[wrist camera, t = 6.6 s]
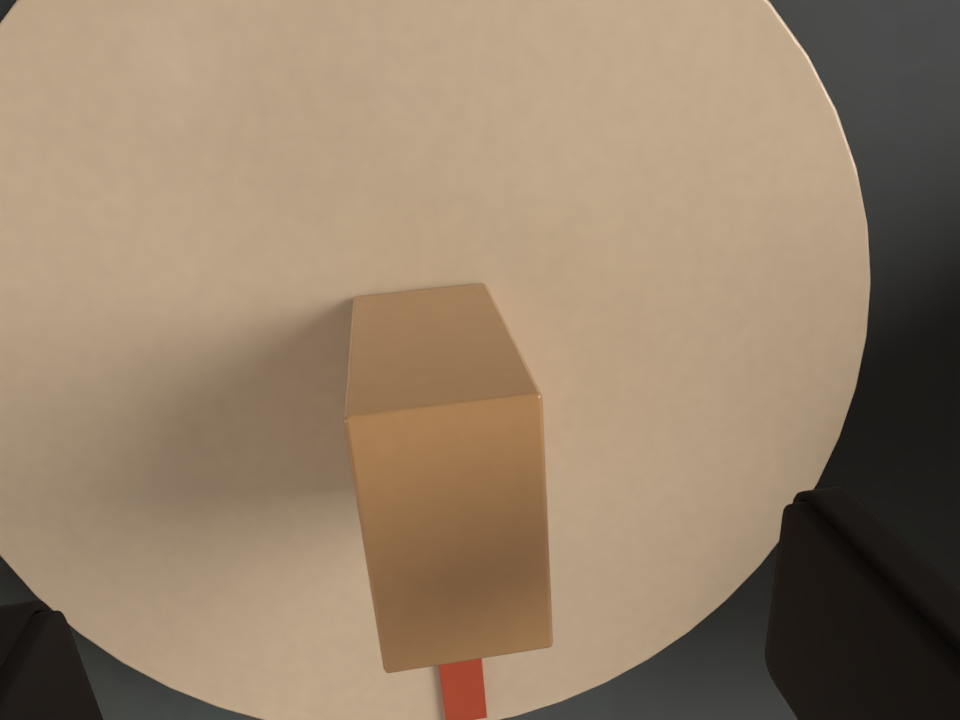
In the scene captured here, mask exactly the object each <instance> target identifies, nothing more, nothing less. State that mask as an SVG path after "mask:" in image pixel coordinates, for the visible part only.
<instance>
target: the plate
mask: <svg viewBox="0 0 960 720" xmlns="http://www.w3.org/2000/svg"><path fill="white" fill-rule="evenodd" d="M870 283H871V280H870V262H869V244H868V225H867V220H866V215H865V210H864V205H863V200H862V194H861V189H860V184H859V179H858V174H857V169H856V166H855V163H854V160H853V157H852V154H851V151H850V148H849V145H848V142H847V139H846V137H845V134H844V131H843V128H842V125H841V122H840V119H839V116H838V113H837V111H836V109H835V107H834V105H833V103H832V101H831V99H830V97H829V95H828V93H827V91H826V89H825V87H824V85H823V84H822V82H821V80H820V78H819V76H818V74H817V72H816V70H815V68H814V66H813V64H812V62H811V60H810V58H809V56H808V55H807V53H806V52H805V50H804V49H803V48H802V46H801V45H800V44H799V42H798V41H797V39H796V38H795V37H794V35H793V34H792V32H791V31H790V30H789V28H788V27H787V25H786V24H785V23H784V21H783V20H782V18H781V17H780V16H779V14H778V13H777V12H776V10H775V9H774V7H773V6H772V5H771V3H770V2H769V1H768V0H17V1H16V2H15V3H14V5H13V6H12V8H11V9H10V10H9V12H8V13H7V14H6V16H5V17H4V18H3V20H2V21H1V22H0V556H1V557H2V558H3V559H4V560H5V561H6V562H7V564H8V565H9V566H10V567H11V568H12V569H13V570H14V571H15V573H16V574H17V575H18V576H19V577H20V578H21V579H22V580H23V582H24V583H25V584H26V585H27V586H28V587H29V588H30V589H31V591H32V592H33V593H34V594H35V595H36V596H37V597H38V598H39V599H41V600H42V601H43V602H44V603H46V604H47V605H48V606H49V607H50V608H51V609H52V610H53V611H55V610H57V611H61V612H62V613H63V614H64V616H65V618H66V620H67V623H68V624H69V625H70V626H71V627H72V628H74V629H75V630H76V631H77V632H78V633H80V634H81V635H83V636H84V637H86V638H87V639H89V640H90V641H91V642H93V643H94V644H96V645H97V646H99V647H100V648H102V649H103V650H105V651H106V652H108V653H109V654H110V655H112V656H113V657H115V658H116V659H118V660H119V661H121V662H122V663H124V664H126V665H128V666H130V667H131V668H133V669H135V670H137V671H139V672H141V673H143V674H145V675H146V676H148V677H150V678H152V679H154V680H156V681H158V682H160V683H162V684H163V685H165V686H167V687H169V688H171V689H174V690H176V691H179V692H181V693H184V694H186V695H189V696H191V697H194V698H196V699H199V700H201V701H204V702H207V703H209V704H212V705H214V706H217V707H219V708H223V709H226V710H230V711H233V712H237V713H241V714H244V715H248V716H251V717H255V718H258V719H262V720H501V719H505V718H510V717H514V716H518V715H521V714H524V713H527V712H530V711H533V710H537V709H540V708H543V707H546V706H549V705H552V704H555V703H558V702H562V701H564V700H566V699H569V698H571V697H573V696H576V695H578V694H580V693H583V692H585V691H587V690H590V689H592V688H594V687H597V686H599V685H601V684H604V683H606V682H608V681H610V680H611V679H613V678H615V677H617V676H619V675H621V674H622V673H624V672H626V671H628V670H630V669H632V668H633V667H635V666H637V665H639V664H641V663H642V662H644V661H646V660H648V659H650V658H651V657H652V656H654V655H655V654H657V653H658V652H660V651H661V650H663V649H664V648H666V647H667V646H669V645H670V644H672V643H673V642H674V641H676V640H677V639H679V638H680V637H682V636H683V635H685V634H686V633H688V632H689V631H690V630H691V629H693V628H694V627H695V626H696V625H697V624H699V623H700V622H701V621H702V620H703V619H705V618H706V617H707V616H708V615H709V614H710V613H712V612H713V611H714V610H715V609H716V608H718V607H719V606H720V605H721V604H722V603H724V602H725V601H726V600H727V599H728V598H729V597H730V596H731V595H732V594H733V593H734V592H735V591H736V590H737V589H738V588H739V587H740V586H741V584H742V583H743V582H744V581H745V580H746V579H747V578H748V577H749V576H750V575H751V574H752V573H753V572H754V571H755V570H756V569H757V568H758V567H759V566H760V565H761V564H762V562H763V561H764V560H765V558H766V557H767V556H768V555H769V553H770V552H771V551H772V549H773V548H774V547H775V546H776V544H777V543H778V542H779V538H780V530H781V522H782V514H783V510H784V508H785V506H786V505H788V504H792V503H793V499H794V497H795V496H796V494H797V493H799V492H801V491H807V490H814V488H815V486H816V485H817V483H818V481H819V479H820V477H821V475H822V472H823V470H824V468H825V466H826V464H827V462H828V460H829V458H830V456H831V453H832V451H833V449H834V447H835V445H836V443H837V441H838V439H839V436H840V433H841V430H842V427H843V424H844V421H845V418H846V415H847V412H848V410H849V407H850V404H851V401H852V398H853V395H854V392H855V389H856V384H857V379H858V375H859V370H860V365H861V360H862V355H863V350H864V345H865V341H866V335H867V322H868V309H869V296H870Z"/></svg>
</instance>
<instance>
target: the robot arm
mask: <svg viewBox="0 0 960 720" xmlns="http://www.w3.org/2000/svg"><path fill="white" fill-rule="evenodd" d="M765 659H766V665H767V668H768V671H769V674H770V676H771V678H772V680H773V682H774V683H775V685H776V686H777V688H778V690H779V691H780V693H781V694H782V696H783V697H784V699H785V700H786V702H787V703H788V705H789V706H790V708H791V709H792V711H793V713H794V714H795V716H796V717H797V719H798V720H960V590H959V589H957V588H956V587H955V586H954V585H953V584H952V583H951V582H950V581H949V580H947V579H946V578H945V577H944V576H943V575H942V574H941V573H940V572H939V571H938V570H936V569H935V568H934V567H933V566H932V565H931V564H930V563H929V562H928V561H926V560H925V559H924V558H923V557H922V556H921V555H920V554H919V553H918V552H917V551H915V550H914V549H913V548H912V547H911V546H910V545H909V544H908V543H907V542H905V541H904V540H903V539H902V538H901V537H900V536H899V535H898V534H897V533H896V532H894V531H893V530H892V529H891V528H890V527H889V526H888V525H887V524H886V523H884V522H883V521H882V520H881V519H880V518H879V517H878V516H877V515H876V514H874V513H873V512H872V511H871V510H870V509H869V508H868V507H867V506H866V505H865V504H863V503H862V502H861V501H860V500H859V499H858V498H857V497H856V496H855V495H853V494H852V493H851V492H850V491H849V490H847V489H846V488H844V487H840V486H835V487H828V488H821V489H814V490H807V491H801V492H799V493H797V494H796V496H795V497H794V499H793V503H792V504H788V505H786V506H785V508H784V510H783V514H782V522H781V530H780V538H779V546H778V553H777V561H776V569H775V577H774V585H773V593H772V601H771V609H770V616H769V624H768V632H767V640H766V648H765ZM0 720H103V718H102V715H101V713H100V710H99V707H98V704H97V702H96V699H95V696H94V694H93V691H92V688H91V685H90V683H89V680H88V677H87V674H86V672H85V669H84V666H83V664H82V661H81V658H80V655H79V653H78V650H77V647H76V644H75V642H74V639H73V636H72V634H71V631H70V628H69V625H68V623H67V620H66V618H65V616H64V614H63V613H62V612H61V611H57V610H55V611H50V609H49V607H48V605H47V604H46V603H44V602H43V601H32V602H25V603H18V604H11V605H4V606H0Z"/></svg>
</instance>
